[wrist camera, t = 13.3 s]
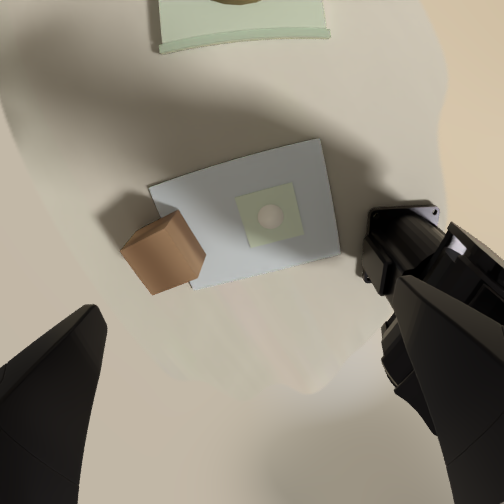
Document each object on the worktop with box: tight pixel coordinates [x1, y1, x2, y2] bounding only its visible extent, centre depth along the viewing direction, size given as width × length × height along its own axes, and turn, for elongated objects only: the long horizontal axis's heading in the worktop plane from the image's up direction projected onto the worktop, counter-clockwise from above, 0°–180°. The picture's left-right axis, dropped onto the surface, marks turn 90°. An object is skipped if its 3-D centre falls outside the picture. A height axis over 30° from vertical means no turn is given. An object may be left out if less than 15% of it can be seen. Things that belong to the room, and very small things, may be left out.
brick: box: [120, 209, 206, 295], centre depth 20 cm, size 4×4×3 cm
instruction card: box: [149, 138, 341, 290], centre depth 21 cm, size 12×9×1 cm
